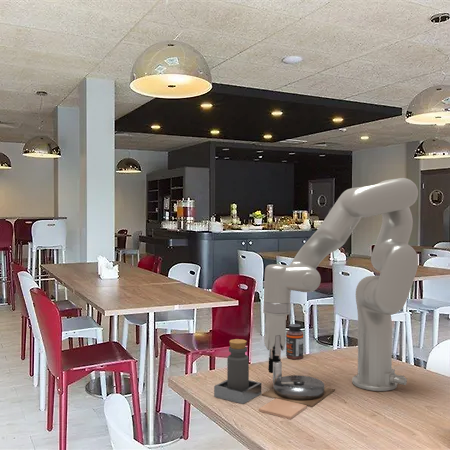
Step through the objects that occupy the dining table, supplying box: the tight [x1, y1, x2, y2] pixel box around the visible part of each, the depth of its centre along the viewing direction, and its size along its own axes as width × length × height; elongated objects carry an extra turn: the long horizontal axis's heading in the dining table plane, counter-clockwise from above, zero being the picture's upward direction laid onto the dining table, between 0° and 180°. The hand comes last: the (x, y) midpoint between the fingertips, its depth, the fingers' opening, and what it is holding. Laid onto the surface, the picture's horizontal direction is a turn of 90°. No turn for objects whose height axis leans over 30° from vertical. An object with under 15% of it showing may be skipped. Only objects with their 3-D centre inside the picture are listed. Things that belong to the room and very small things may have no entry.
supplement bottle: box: [285, 323, 304, 360], centre depth 175 cm, size 6×6×11 cm
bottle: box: [226, 338, 250, 391], centre depth 139 cm, size 6×6×15 cm
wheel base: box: [261, 386, 336, 408], centre depth 140 cm, size 15×15×1 cm
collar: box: [213, 379, 263, 405], centre depth 139 cm, size 9×9×3 cm
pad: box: [258, 398, 308, 420], centre depth 129 cm, size 9×9×1 cm
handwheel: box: [272, 360, 325, 400], centre depth 140 cm, size 14×14×8 cm
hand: (274, 372), depth 144 cm, fingers closed
